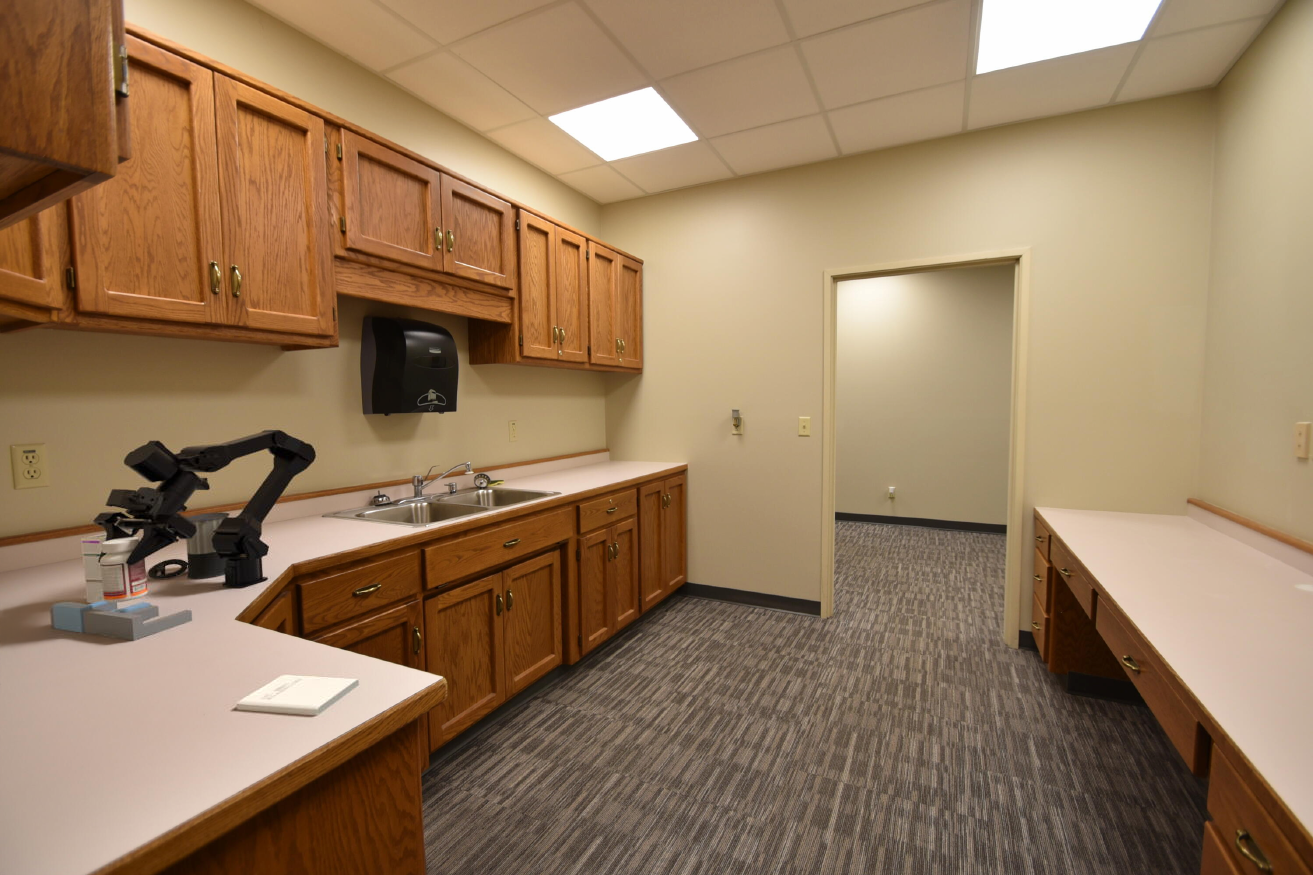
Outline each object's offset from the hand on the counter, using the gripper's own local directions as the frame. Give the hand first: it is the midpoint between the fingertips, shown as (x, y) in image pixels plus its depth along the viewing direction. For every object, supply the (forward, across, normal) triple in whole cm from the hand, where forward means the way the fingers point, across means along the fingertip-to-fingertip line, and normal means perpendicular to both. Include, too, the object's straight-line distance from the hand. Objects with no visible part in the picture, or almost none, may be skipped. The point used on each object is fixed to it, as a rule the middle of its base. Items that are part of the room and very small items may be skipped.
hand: (114, 563), depth 104 cm
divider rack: (+7, -1, +10) cm, 13 cm away
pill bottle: (+4, 0, +6) cm, 7 cm away
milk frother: (-12, -20, +30) cm, 38 cm away
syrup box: (0, -20, +18) cm, 26 cm away
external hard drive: (+21, +56, -3) cm, 60 cm away
